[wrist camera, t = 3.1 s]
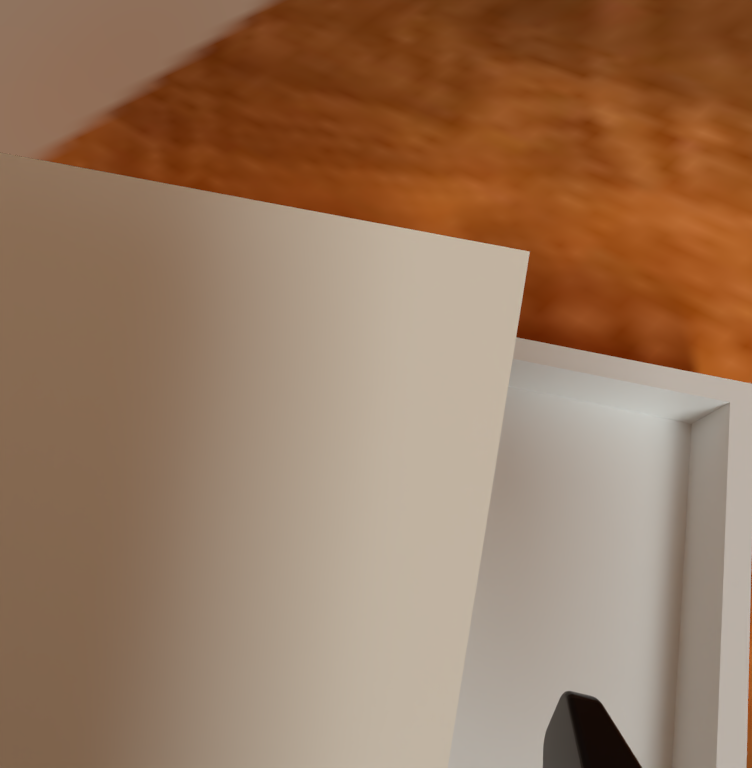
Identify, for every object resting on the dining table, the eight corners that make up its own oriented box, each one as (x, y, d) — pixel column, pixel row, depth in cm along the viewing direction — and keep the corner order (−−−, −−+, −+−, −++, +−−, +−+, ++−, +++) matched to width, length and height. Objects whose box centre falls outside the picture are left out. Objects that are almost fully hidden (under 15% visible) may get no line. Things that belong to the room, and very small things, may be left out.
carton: (376, 718, 15) (371, 1249, 3) (175, 668, 15) (-637, 944, 3) (418, 504, 17) (532, 232, 4) (235, 465, 17) (-134, 108, 5)
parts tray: (675, 1025, 14) (737, 1116, 11) (59, 859, 15) (-3, 910, 12) (705, 412, 18) (755, 384, 16) (233, 317, 19) (212, 277, 17)
